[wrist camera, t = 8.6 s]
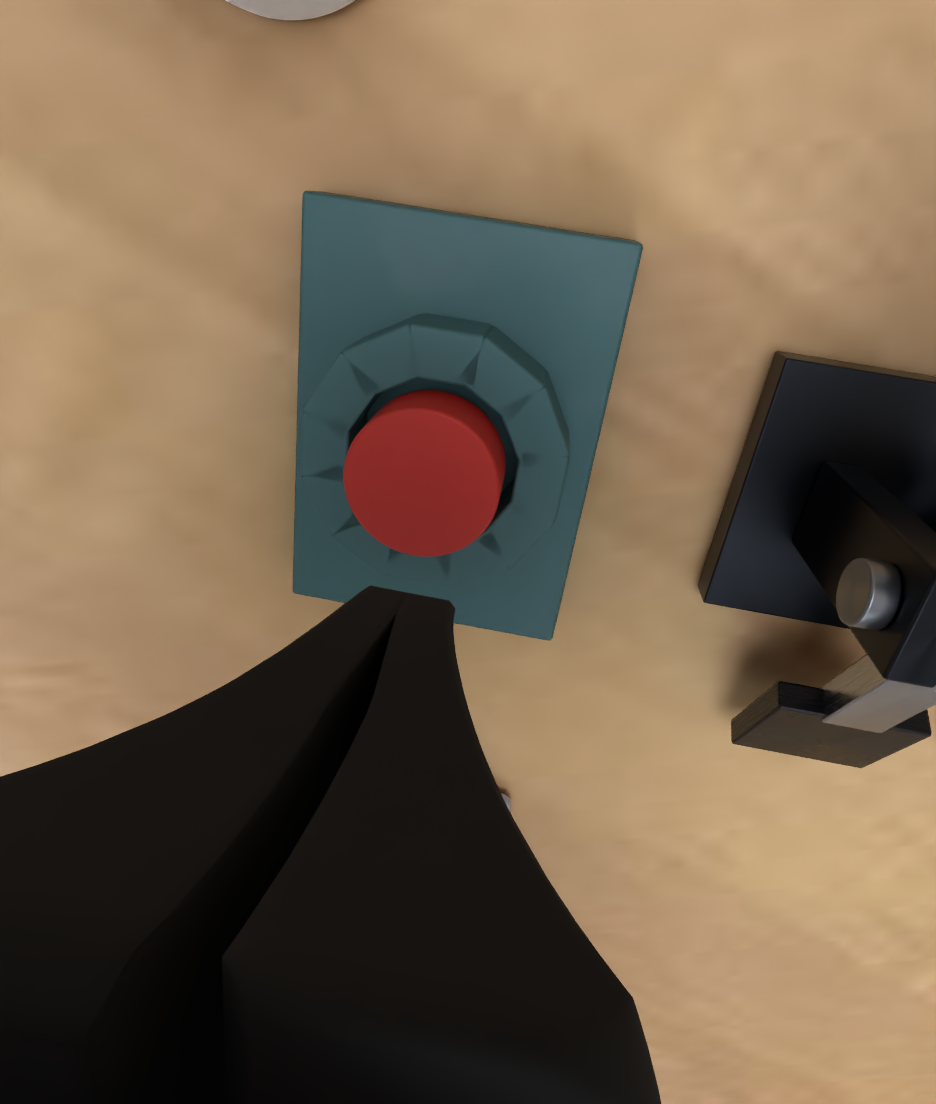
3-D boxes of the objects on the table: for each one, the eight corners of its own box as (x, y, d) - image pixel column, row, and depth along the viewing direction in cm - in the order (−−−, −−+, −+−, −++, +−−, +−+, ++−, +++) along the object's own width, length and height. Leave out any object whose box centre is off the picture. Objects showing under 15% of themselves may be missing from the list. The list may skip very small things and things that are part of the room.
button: (493, 539, 18) (487, 570, 16) (357, 514, 18) (338, 543, 17) (517, 402, 16) (512, 422, 15) (367, 377, 17) (346, 394, 15)
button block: (552, 617, 22) (550, 678, 19) (306, 572, 22) (269, 625, 20) (638, 240, 17) (653, 247, 14) (320, 191, 17) (272, 188, 15)
